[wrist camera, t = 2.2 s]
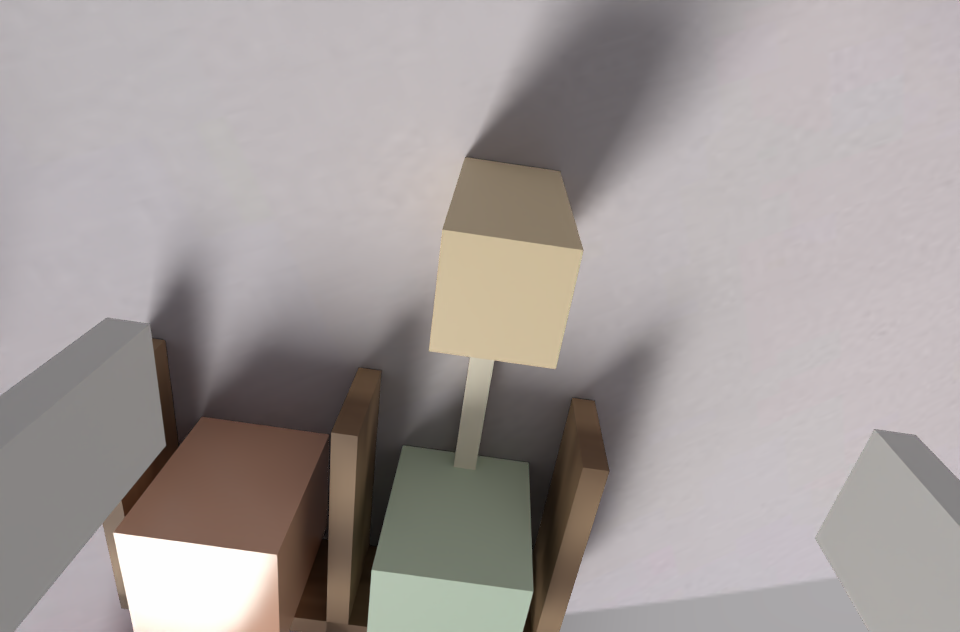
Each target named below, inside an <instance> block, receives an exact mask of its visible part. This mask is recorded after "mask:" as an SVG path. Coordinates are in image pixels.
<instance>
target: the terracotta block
mask: <svg viewBox="0 0 960 632" xmlns="http://www.w3.org/2000/svg"><path fill="white" fill-rule="evenodd" d="M328 465H329V434H323V433H315V432H308V431H301V430H294V429H287V428H280V427H272V426H265V425H258V424H251V423H244V422H237V421H229V420H222V419H215V418H208V417H201V418H200V420H199V421H198V422H197V424H196V425H195V426H194V428H193V429H192V430H191V431H190V433H189V434H188V435H187V437H186V438H185V439H184V441H183V442H182V443H181V445H180V446H179V447H178V448H177V450H176V451H175V452H174V454H173V455H172V456H171V458H170V459H169V460H168V462H167V463H166V464H165V465H164V467H163V468H162V469H161V471H160V472H159V473H158V475H157V476H156V477H155V479H154V480H153V481H152V483H151V484H150V485H149V486H148V488H147V489H146V490H145V492H144V493H143V494H142V496H141V497H140V498H139V500H138V501H137V502H136V503H135V505H134V506H133V507H132V509H131V510H130V511H129V513H128V514H127V515H126V517H125V518H124V519H123V521H122V522H121V523H120V524H119V526H118V527H117V528H116V530H115V531H114V532H113V534H114V539H115V544H116V549H117V553H118V558H119V563H120V568H121V572H122V577H123V582H124V587H125V591H126V596H127V601H128V606H129V610H130V615H131V620H132V625H133V630H134V632H289V630H290V627H291V624H292V622H293V619H294V616H295V613H296V610H297V608H298V605H299V602H300V599H301V596H302V594H303V591H304V588H305V585H306V583H307V580H308V577H309V574H310V571H311V569H312V566H313V563H314V560H315V558H316V555H317V552H318V549H319V546H320V544H321V541H322V538H323V535H324V533H325V530H326V527H327V506H328Z"/></svg>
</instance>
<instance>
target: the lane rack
mask: <svg viewBox="0 0 960 632" xmlns="http://www.w3.org/2000/svg"><path fill="white" fill-rule="evenodd" d="M152 343H153V350H154V358H155V365H156V373H157V381H158V388H159V396H160V404H161V411H162V419H163V426H164V434H165V442H166V446H165V447H164V449H163V450H162V451H161V452H160V453H159V455H158V456H157V457H156V458H155V460H154V461H153V462H152V463H151V465H150V466H149V467H148V468H147V469H146V471H145V472H144V473H143V474H142V476H141V477H140V478H139V479H138V480H137V482H136V483H135V484H134V485H133V487H132V488H131V489H130V490H129V491H128V493H127V494H126V495H125V496H124V498H123V499H122V500H121V501H120V502H119V504H118V505H117V506H116V507H115V509H114V510H113V511H112V512H111V513H110V515H109V516H108V517H107V518H106V520H105V521H104V522H103V527H104V532H105V536H106V541H107V545H108V550H109V554H110V559H111V563H112V568H113V572H114V577H115V582H116V586H117V591H118V595H119V600H120V604H121V608H123V609H129V606H128V601H127V596H126V591H125V587H124V582H123V577H122V572H121V568H120V563H119V558H118V553H117V549H116V544H115V539H114V534H113V532H114V531H115V530H116V528H117V527H118V526H119V524H120V523H121V522H122V521H123V519H124V518H125V517H126V515H127V514H128V513H129V511H130V510H131V509H132V507H133V506H134V505H135V503H136V502H137V501H138V500H139V498H140V497H141V496H142V494H143V493H144V492H145V490H146V489H147V488H148V486H149V485H150V484H151V483H152V481H153V480H154V479H155V477H156V476H157V475H158V473H159V472H160V471H161V469H162V468H163V467H164V465H165V464H166V463H167V462H168V460H169V459H170V458H171V456H172V455H173V454H174V452H175V451H176V450H177V448H178V447H179V445H178V437H177V429H176V421H175V413H174V406H173V398H172V390H171V382H170V374H169V367H168V359H167V351H166V343H165V340H160V339H153V338H152ZM380 384H381V371H380V370H373V369H365V368H358V371H357V373H356V375H355V378H354V380H353V382H352V385H351V387H350V389H349V392H348V394H347V396H346V399H345V401H344V403H343V406H342V408H341V410H340V413H339V415H338V417H337V420H336V422H335V424H334V427H333V429H332V431H331V454H330V495H329V536H328V540H325V539H322V541H321V544H320V546H319V549H318V552H317V555H316V558H315V560H314V563H313V566H312V569H311V571H310V574H309V577H308V580H307V583H306V585H305V588H304V591H303V594H302V596H301V599H300V602H299V605H298V608H297V610H296V613H295V616H294V619H293V622H292V624H291V627H290V630H289V631H297V632H367V625H368V612H369V598H370V585H371V572H372V566H373V562H374V558H375V555H376V551H377V547H376V546H369V541H370V526H371V512H372V498H373V484H374V470H375V455H376V441H377V427H378V413H379V398H380ZM608 474H609V467H608V462H607V457H606V453H605V448H604V443H603V438H602V434H601V429H600V424H599V419H598V415H597V410H596V405H595V401H592V400H585V399H578V398H572V401H571V405H570V409H569V413H568V417H567V421H566V425H565V428H564V432H563V436H562V440H561V444H560V448H559V452H558V456H557V460H556V464H555V468H554V472H553V476H552V479H551V483H550V487H549V491H548V495H547V499H546V503H545V507H544V511H543V515H542V519H541V523H540V527H539V530H538V534H537V538H536V542H535V546H534V550H533V554H532V566H533V595H532V599H531V603H530V606H529V610H528V614H527V618H526V621H525V625H524V629H523V632H559V631H560V628H561V625H562V621H563V618H564V615H565V612H566V609H567V605H568V602H569V599H570V596H571V593H572V589H573V586H574V583H575V580H576V577H577V573H578V570H579V567H580V564H581V561H582V557H583V554H584V551H585V548H586V545H587V541H588V538H589V535H590V532H591V529H592V525H593V522H594V519H595V516H596V513H597V509H598V506H599V503H600V500H601V497H602V493H603V490H604V487H605V484H606V481H607V477H608Z"/></svg>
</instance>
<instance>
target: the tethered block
mask: <svg viewBox="0 0 960 632" xmlns="http://www.w3.org/2000/svg"><path fill="white" fill-rule="evenodd" d="M582 254H583V247H582V244H581V240H580V237H579V234H578V230H577V227H576V224H575V220H574V217H573V213H572V210H571V207H570V203H569V200H568V196H567V193H566V190H565V186H564V183H563V179H562V176H561V173H560V171H555V170H549V169H542V168H535V167H529V166H522V165H515V164H508V163H502V162H495V161H488V160H482V159H475V158H468V157H465V160H464V163H463V166H462V169H461V172H460V175H459V179H458V182H457V185H456V188H455V191H454V194H453V198H452V201H451V204H450V207H449V210H448V213H447V217H446V220H445V223H444V226H443V229H442V237H441V246H440V255H439V264H438V273H437V282H436V291H435V300H434V309H433V318H432V327H431V335H430V344H429V351H431V352H439V353H446V354H453V355H460V356H467V357H470V359H469V366H468V372H467V379H466V386H465V392H464V399H463V406H462V412H461V419H460V425H459V432H458V439H457V445H456V452H448V451H441V450H434V449H427V448H419V447H412V446H405V445H403V447H402V451H401V455H400V459H399V463H398V467H397V471H396V475H395V479H394V483H393V487H392V491H391V495H390V499H389V503H388V507H387V511H386V515H385V519H384V523H383V527H382V531H381V535H380V539H379V543H378V547H377V551H376V555H375V558H374V562H373V566H372V572H371V585H370V598H369V612H368V625H367V632H523V629H524V625H525V621H526V618H527V614H528V610H529V606H530V603H531V599H532V595H533V566H532V539H531V512H530V484H529V463H527V462H520V461H513V460H506V459H499V458H491V457H484V456H478V451H479V445H480V440H481V434H482V428H483V422H484V417H485V411H486V405H487V399H488V394H489V388H490V382H491V376H492V371H493V365H494V360H495V361H502V362H509V363H516V364H523V365H530V366H537V367H544V368H551V369H556V366H557V362H558V357H559V353H560V349H561V344H562V340H563V336H564V332H565V327H566V323H567V319H568V314H569V310H570V306H571V301H572V297H573V293H574V289H575V284H576V280H577V276H578V271H579V267H580V263H581V258H582Z"/></svg>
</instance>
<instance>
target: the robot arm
mask: <svg viewBox="0 0 960 632" xmlns="http://www.w3.org/2000/svg"><path fill="white" fill-rule="evenodd" d="M165 446H166V442H165V434H164V426H163V419H162V411H161V404H160V396H159V388H158V381H157V373H156V365H155V358H154V350H153V343H152V335H151V327H150V324H148V323H141V322H134V321H127V320H120V319H113V318H106V319H104V320H103V321H102V322H100V323H99V324H97V325H96V326H95V327H93V328H92V329H91V330H89V331H88V332H87V333H85V334H84V335H83V336H81V337H80V338H78V339H77V340H76V341H74V342H73V343H72V344H70V345H69V346H68V347H66V348H65V349H63V350H62V351H61V352H59V353H58V354H57V355H55V356H54V357H53V358H51V359H50V360H48V361H47V362H46V363H44V364H43V365H42V366H40V367H39V368H38V369H36V370H35V371H33V372H32V373H31V374H29V375H28V376H27V377H25V378H24V379H23V380H21V381H20V382H18V383H17V384H16V385H14V386H13V387H12V388H10V389H9V390H8V391H6V392H5V393H3V394H2V395H1V396H0V632H14V631H15V630H16V629H17V627H18V626H19V625H20V624H21V622H22V621H23V620H24V619H25V618H26V616H27V615H28V614H29V613H30V611H31V610H32V609H33V608H34V607H35V605H36V604H37V603H38V602H39V600H40V599H41V598H42V597H43V596H44V594H45V593H46V592H47V591H48V589H49V588H50V587H51V586H52V585H53V583H54V582H55V581H56V580H57V578H58V577H59V576H60V575H61V573H62V572H63V571H64V570H65V569H66V567H67V566H68V565H69V564H70V562H71V561H72V560H73V559H74V558H75V556H76V555H77V554H78V553H79V551H80V550H81V549H82V548H83V547H84V545H85V544H86V543H87V542H88V540H89V539H90V538H91V537H92V536H93V534H94V533H95V532H96V531H97V529H98V528H99V527H100V526H101V525H102V523H103V522H104V521H105V520H106V518H107V517H108V516H109V515H110V513H111V512H112V511H113V510H114V509H115V507H116V506H117V505H118V504H119V502H120V501H121V500H122V499H123V498H124V496H125V495H126V494H127V493H128V491H129V490H130V489H131V488H132V487H133V485H134V484H135V483H136V482H137V480H138V479H139V478H140V477H141V476H142V474H143V473H144V472H145V471H146V469H147V468H148V467H149V466H150V465H151V463H152V462H153V461H154V460H155V458H156V457H157V456H158V455H159V453H160V452H161V451H162V450H163V449H164V447H165ZM815 539H816V541H817V542H818V544H819V546H820V548H821V549H822V551H823V553H824V555H825V556H826V558H827V560H828V562H829V563H830V565H831V567H832V568H833V570H834V572H835V574H836V575H837V577H838V579H839V580H840V582H841V584H842V586H843V588H844V589H845V591H846V593H847V594H848V596H849V598H850V600H851V601H852V603H853V605H854V607H855V608H856V610H857V612H858V614H859V615H860V617H861V619H862V621H863V622H864V624H865V626H866V627H867V629H868V631H869V632H960V480H959V479H958V478H957V477H956V476H955V475H954V474H953V473H952V472H951V471H950V470H949V469H948V468H947V467H946V466H945V465H944V464H943V463H942V462H941V461H940V460H939V459H938V458H937V456H936V455H935V454H934V453H933V452H932V451H931V450H930V449H929V448H928V447H927V446H926V445H925V444H924V443H923V442H922V441H921V440H920V439H919V438H918V437H917V436H916V435H912V434H905V433H898V432H891V431H884V430H877V429H874V431H873V433H872V434H871V436H870V438H869V440H868V442H867V444H866V445H865V447H864V449H863V451H862V453H861V455H860V456H859V458H858V460H857V462H856V464H855V466H854V467H853V469H852V471H851V473H850V475H849V476H848V478H847V480H846V482H845V484H844V486H843V487H842V489H841V491H840V493H839V495H838V497H837V498H836V500H835V502H834V504H833V506H832V508H831V509H830V511H829V513H828V515H827V517H826V518H825V520H824V522H823V524H822V526H821V528H820V529H819V531H818V533H817V535H816V537H815Z"/></svg>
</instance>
